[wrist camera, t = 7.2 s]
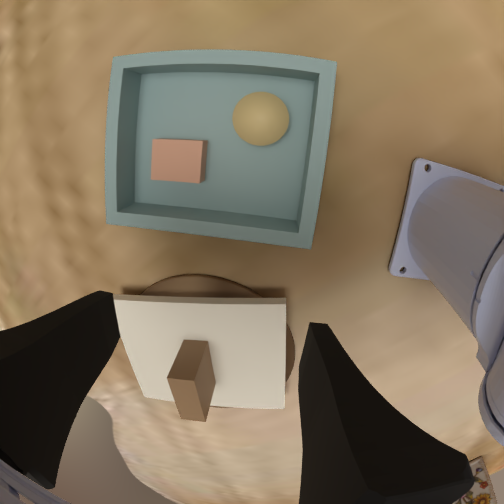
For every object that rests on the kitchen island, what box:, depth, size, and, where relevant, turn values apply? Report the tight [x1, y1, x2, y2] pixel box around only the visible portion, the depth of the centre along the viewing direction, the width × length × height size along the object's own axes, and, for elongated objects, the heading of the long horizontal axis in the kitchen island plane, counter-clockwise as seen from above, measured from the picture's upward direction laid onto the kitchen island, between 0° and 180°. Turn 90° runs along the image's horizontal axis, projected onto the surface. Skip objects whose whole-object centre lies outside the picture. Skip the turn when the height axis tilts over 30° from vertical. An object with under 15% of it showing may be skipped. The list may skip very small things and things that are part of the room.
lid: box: [113, 294, 286, 422], centre depth 20 cm, size 13×11×6 cm
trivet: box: [141, 274, 295, 408], centre depth 23 cm, size 14×14×1 cm
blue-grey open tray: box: [105, 50, 337, 249], centre depth 16 cm, size 12×10×3 cm
